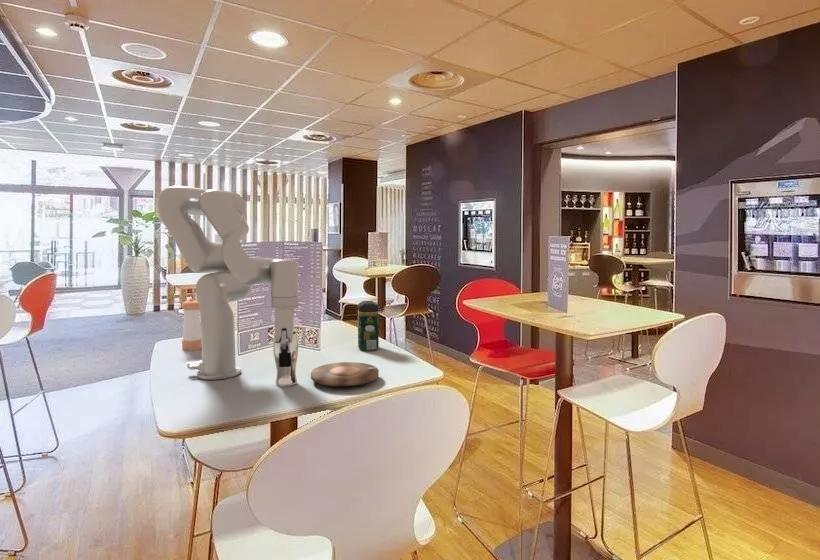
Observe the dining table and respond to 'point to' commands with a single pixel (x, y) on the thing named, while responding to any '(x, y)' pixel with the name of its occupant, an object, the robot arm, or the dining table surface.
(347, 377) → the disc
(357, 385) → the turntable base
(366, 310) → the coffee jar
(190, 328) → the orange and white bottle
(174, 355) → the dining table surface
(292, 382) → the beer glass
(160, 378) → the dining table surface
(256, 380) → the dining table surface
